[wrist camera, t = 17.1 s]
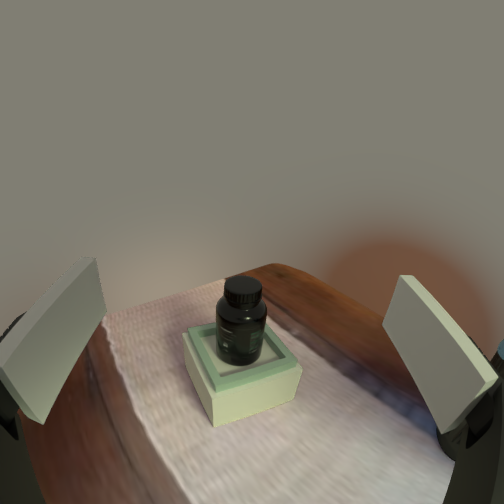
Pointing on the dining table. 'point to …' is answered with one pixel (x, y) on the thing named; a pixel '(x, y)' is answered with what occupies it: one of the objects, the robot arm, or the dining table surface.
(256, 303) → the supplement bottle
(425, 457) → the dining table surface
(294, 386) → the riser
